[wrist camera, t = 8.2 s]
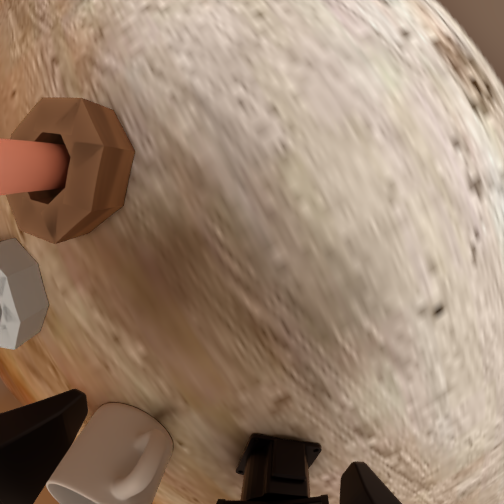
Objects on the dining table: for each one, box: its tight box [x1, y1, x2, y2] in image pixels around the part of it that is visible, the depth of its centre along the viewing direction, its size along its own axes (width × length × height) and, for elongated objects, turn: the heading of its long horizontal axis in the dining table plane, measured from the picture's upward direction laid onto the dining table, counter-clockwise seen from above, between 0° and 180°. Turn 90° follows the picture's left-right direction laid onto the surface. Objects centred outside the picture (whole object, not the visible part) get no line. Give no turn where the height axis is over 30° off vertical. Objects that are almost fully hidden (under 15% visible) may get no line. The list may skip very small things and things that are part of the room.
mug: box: [46, 403, 173, 504], centre depth 18 cm, size 12×8×11 cm
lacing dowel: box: [0, 139, 71, 195], centre depth 14 cm, size 3×3×9 cm
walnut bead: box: [6, 98, 135, 244], centre depth 17 cm, size 9×9×4 cm
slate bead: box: [0, 238, 49, 350], centre depth 20 cm, size 9×9×4 cm
